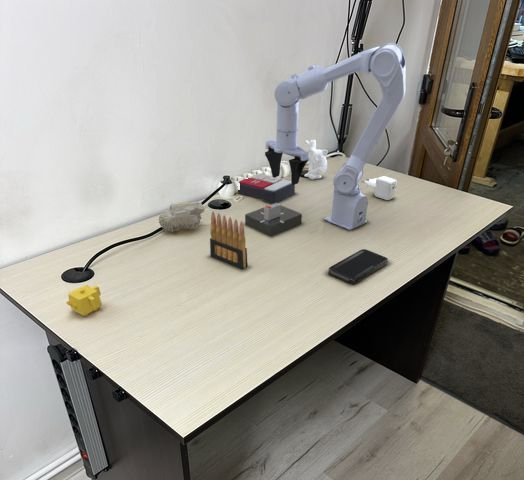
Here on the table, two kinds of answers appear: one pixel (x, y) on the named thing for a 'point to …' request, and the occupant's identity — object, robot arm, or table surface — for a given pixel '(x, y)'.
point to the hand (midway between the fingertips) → (285, 180)
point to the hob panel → (273, 221)
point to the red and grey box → (267, 188)
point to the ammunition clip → (228, 242)
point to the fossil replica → (181, 216)
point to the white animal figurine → (316, 161)
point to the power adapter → (382, 187)
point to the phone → (357, 266)
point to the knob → (272, 211)
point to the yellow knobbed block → (85, 299)
